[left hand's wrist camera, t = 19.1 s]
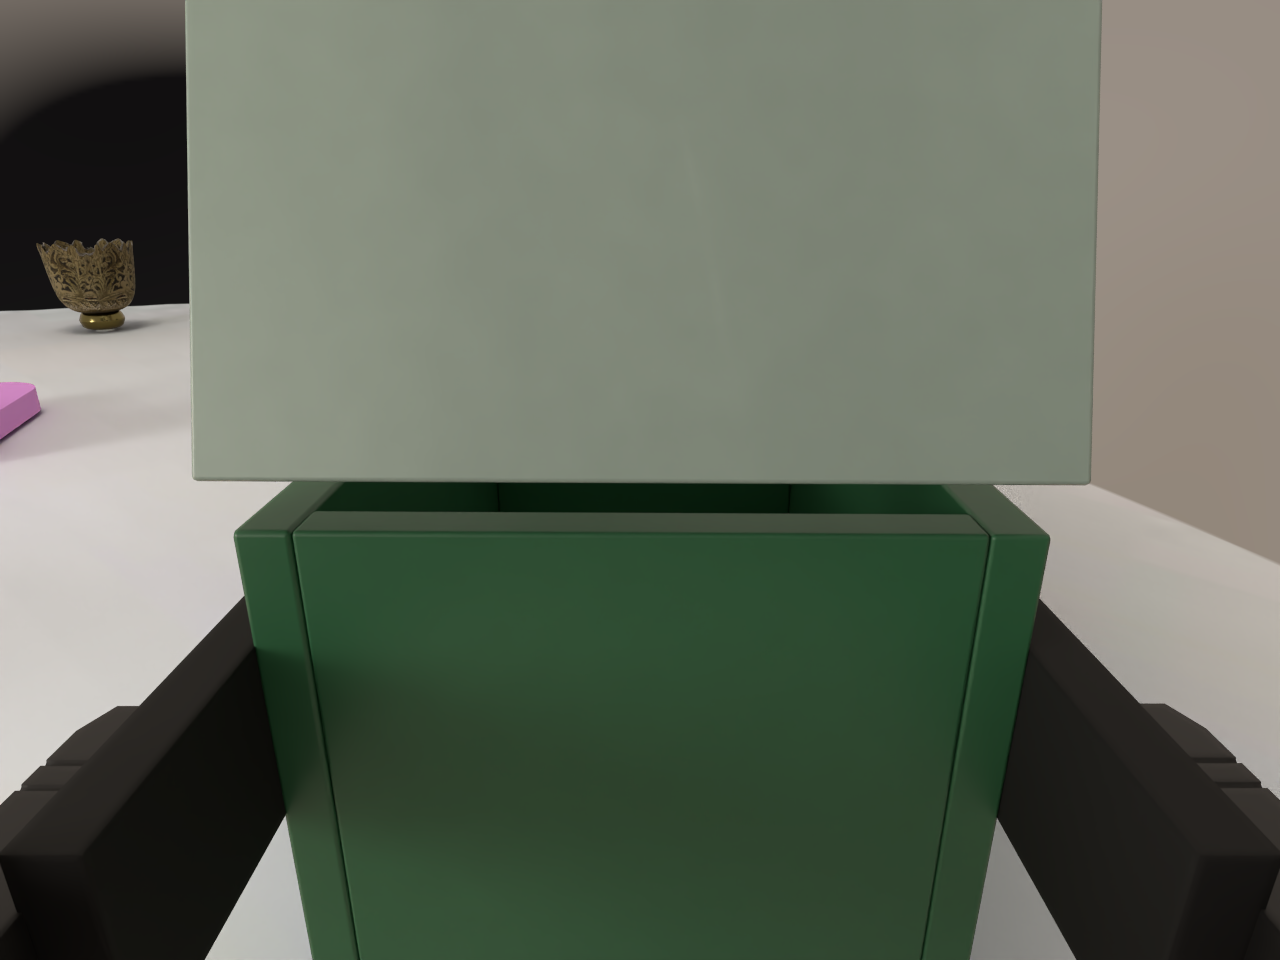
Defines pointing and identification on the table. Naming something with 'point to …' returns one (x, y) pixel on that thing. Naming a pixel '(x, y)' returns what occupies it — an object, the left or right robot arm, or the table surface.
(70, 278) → the cup
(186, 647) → the table surface
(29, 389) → the bracket
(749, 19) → the lid
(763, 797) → the chest
